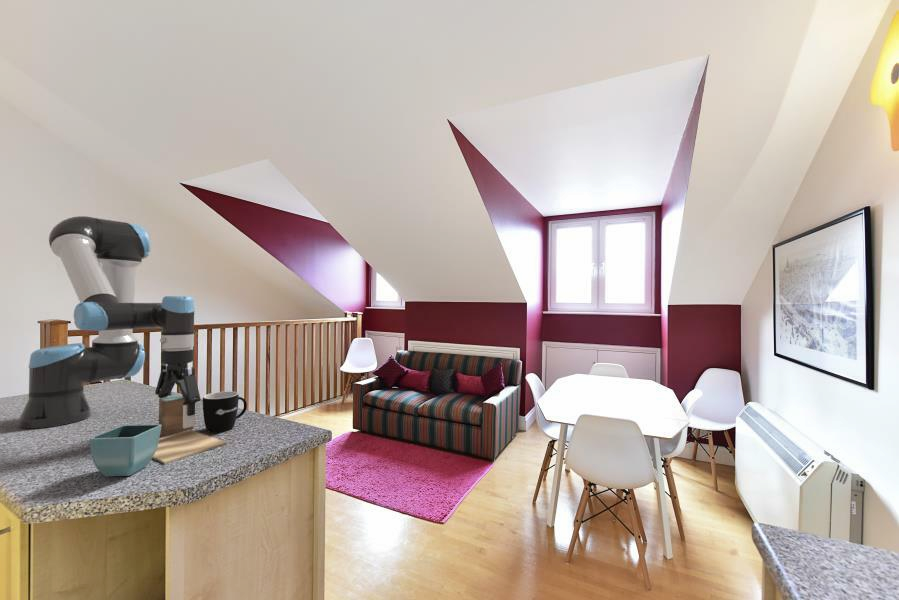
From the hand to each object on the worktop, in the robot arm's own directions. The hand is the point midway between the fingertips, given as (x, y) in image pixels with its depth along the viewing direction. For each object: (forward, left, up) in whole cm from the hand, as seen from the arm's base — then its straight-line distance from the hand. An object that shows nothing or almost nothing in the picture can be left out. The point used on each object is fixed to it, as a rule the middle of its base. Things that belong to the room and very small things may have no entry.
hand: (176, 423), depth 105 cm
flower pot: (+19, -18, -3) cm, 26 cm away
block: (0, 0, -3) cm, 3 cm away
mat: (+13, -5, -2) cm, 14 cm away
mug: (+9, +9, -3) cm, 13 cm away
